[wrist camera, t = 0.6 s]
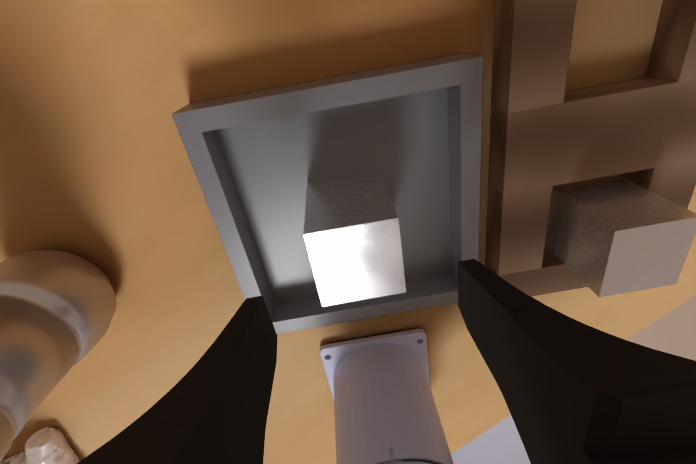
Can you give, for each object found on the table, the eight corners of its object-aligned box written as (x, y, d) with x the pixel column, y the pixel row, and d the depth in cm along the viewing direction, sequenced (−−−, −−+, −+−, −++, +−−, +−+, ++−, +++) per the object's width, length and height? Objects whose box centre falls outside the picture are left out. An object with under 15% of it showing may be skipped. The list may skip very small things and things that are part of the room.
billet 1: (385, 230, 22) (406, 292, 17) (321, 241, 22) (322, 307, 17) (377, 168, 20) (398, 217, 15) (307, 181, 20) (303, 234, 15)
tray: (463, 275, 25) (477, 299, 23) (264, 310, 25) (259, 337, 23) (463, 53, 18) (483, 56, 16) (189, 103, 18) (171, 114, 16)
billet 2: (598, 227, 24) (676, 283, 19) (538, 238, 24) (599, 297, 19) (610, 171, 22) (701, 216, 17) (544, 182, 22) (615, 231, 17)
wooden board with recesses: (640, 256, 25) (664, 273, 23) (484, 283, 25) (496, 302, 24) (755, -131, 15) (811, -151, 14) (497, -82, 16) (520, -95, 14)
